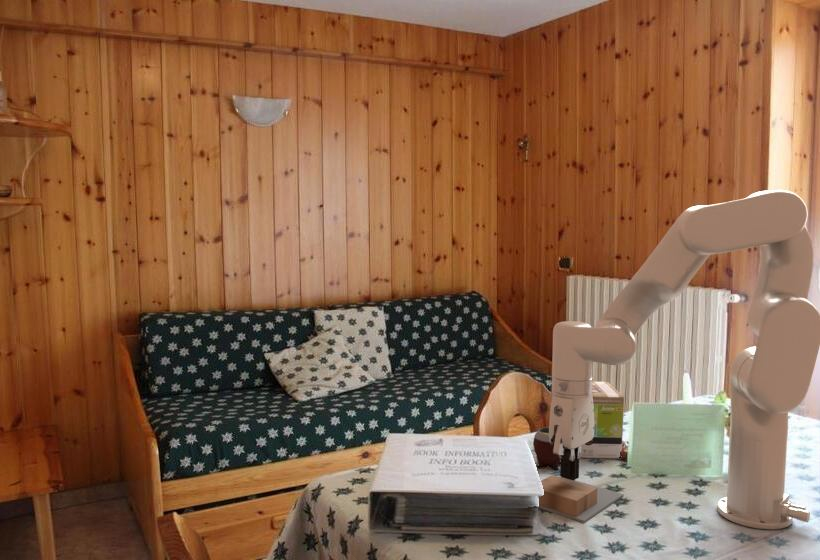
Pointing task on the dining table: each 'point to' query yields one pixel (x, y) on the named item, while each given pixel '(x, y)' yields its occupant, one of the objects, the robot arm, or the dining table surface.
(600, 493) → the mat
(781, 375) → the robot arm
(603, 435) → the tea box
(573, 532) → the dining table surface
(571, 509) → the slab
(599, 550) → the dining table surface
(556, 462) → the mate gourd
